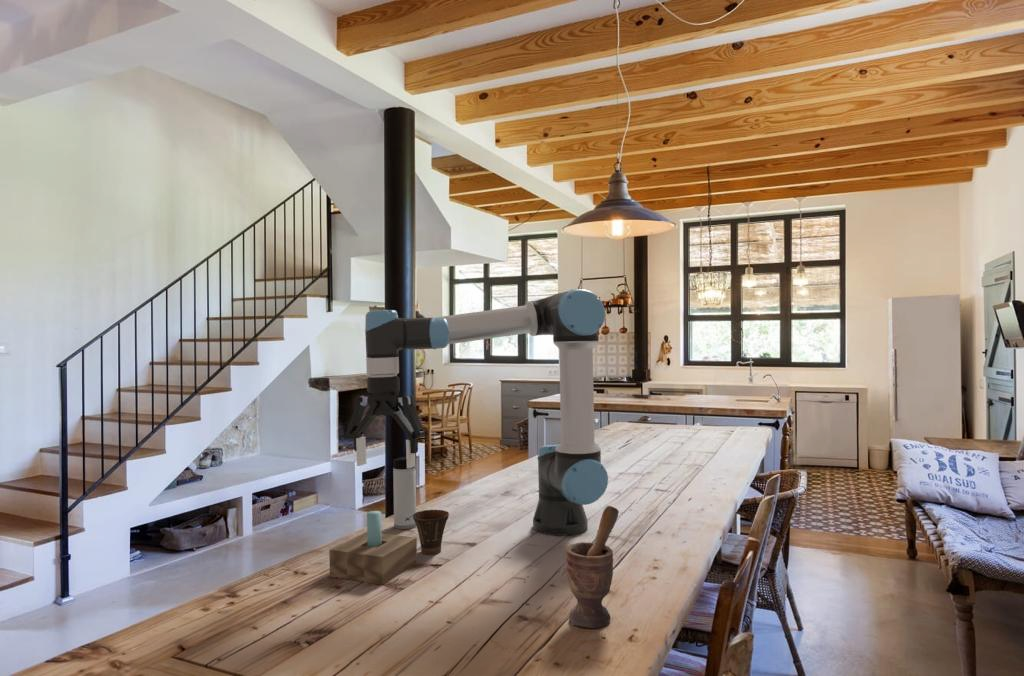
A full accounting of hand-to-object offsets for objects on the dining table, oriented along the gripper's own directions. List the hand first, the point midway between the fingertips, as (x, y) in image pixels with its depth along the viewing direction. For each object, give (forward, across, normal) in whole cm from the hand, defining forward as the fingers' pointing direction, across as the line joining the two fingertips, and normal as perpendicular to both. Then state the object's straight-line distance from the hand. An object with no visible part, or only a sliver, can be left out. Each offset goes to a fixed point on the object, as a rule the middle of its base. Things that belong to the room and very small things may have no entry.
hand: (386, 466), depth 147 cm
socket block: (+23, +1, +4) cm, 23 cm away
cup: (+23, -5, -11) cm, 26 cm away
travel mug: (+23, +12, -28) cm, 38 cm away
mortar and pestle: (+24, -52, +12) cm, 59 cm away
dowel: (+22, +1, +4) cm, 22 cm away
